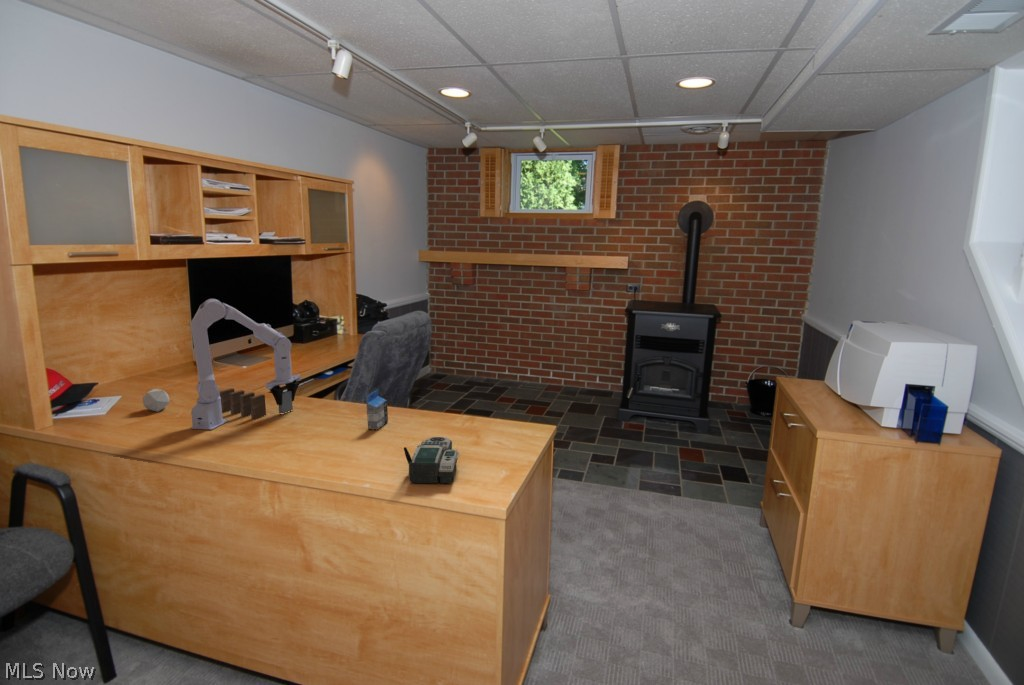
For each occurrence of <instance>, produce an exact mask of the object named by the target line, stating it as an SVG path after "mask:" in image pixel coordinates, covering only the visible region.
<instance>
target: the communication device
mask: <svg viewBox="0 0 1024 685" xmlns="http://www.w3.org/2000/svg"><path fill="white" fill-rule="evenodd" d="M403 451H404V455H405V458H406V460H407V464H408V476H409V482H410V483H411V484H437V483H438V482H439V483H441V484H452V482H454V480H455V475H456V471H457V461H458V460H459V456H460V452H459V451H458V450H457V449H453V440H451V439H450V438H448V437H444V436H431V437H428V438H425V439H424V440H423V441H422V442H421V443H420V444H418V445H417V446H416V449H415V451H414V452H413V456H412V457H411V455H410V452H409V450H408V448H407V447H403Z"/></svg>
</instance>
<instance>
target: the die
mask: <svg viewBox="0 0 1024 685" xmlns="http://www.w3.org/2000/svg"><path fill="white" fill-rule="evenodd" d="M170 403H171V401H170V396H169V394H168V393H167V392H166V391H165V390H163V389H158V388H153V389H151V390H150V391H147V392H146V393H145V395H143V396H142V404H143V407H144V408H146V409H147V410H149V411H153V412H160V411H161V410H164V409H165V408H166V407H167V406H168V405H169V404H170Z"/></svg>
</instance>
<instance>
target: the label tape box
mask: <svg viewBox="0 0 1024 685" xmlns="http://www.w3.org/2000/svg"><path fill="white" fill-rule="evenodd" d="M365 400H366V401H365V402H366V415H367V416H366V418H367V430H368V429H379V428H380V427H381V428H382V427H383V426H385V425H386V424H387V423H388V422H389V417H388V415H389V413H388V400H387V399H385V398H383V397H381V396H379V389H376V390H374V391H372V392H370V393H369V394H368V395H366V399H365ZM386 422H387V423H386ZM385 423H386V424H385ZM384 424H385V425H384ZM381 428H380V429H381ZM380 429H379V430H380Z"/></svg>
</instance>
